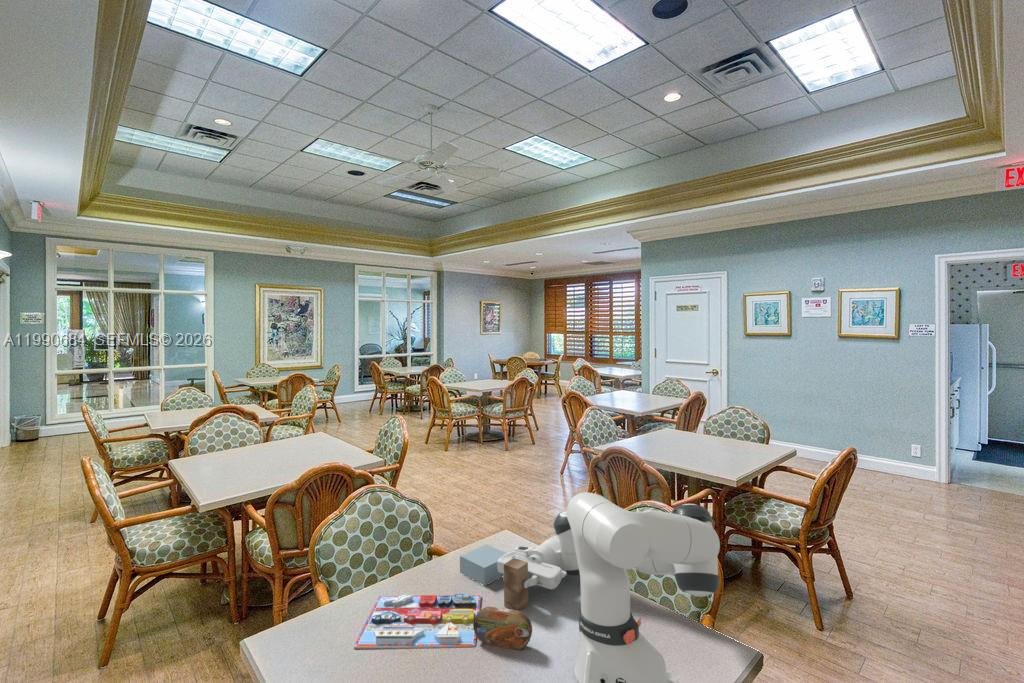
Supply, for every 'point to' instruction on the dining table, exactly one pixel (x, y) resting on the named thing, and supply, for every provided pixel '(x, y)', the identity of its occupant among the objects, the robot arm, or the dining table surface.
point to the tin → (503, 627)
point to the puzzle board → (420, 622)
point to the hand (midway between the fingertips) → (514, 581)
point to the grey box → (481, 564)
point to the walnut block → (515, 584)
